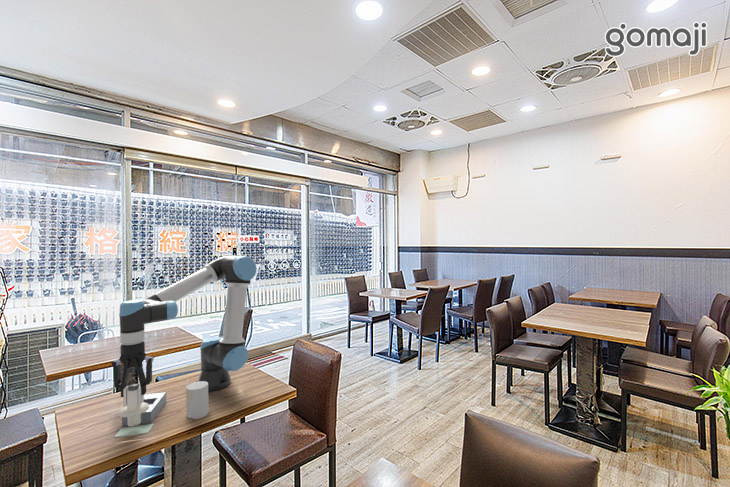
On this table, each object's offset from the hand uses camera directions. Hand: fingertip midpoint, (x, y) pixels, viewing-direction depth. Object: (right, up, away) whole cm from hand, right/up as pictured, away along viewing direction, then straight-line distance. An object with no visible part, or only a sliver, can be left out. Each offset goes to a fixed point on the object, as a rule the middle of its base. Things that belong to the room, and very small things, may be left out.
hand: (133, 403), depth 126 cm
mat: (0, -11, 0) cm, 11 cm away
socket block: (-4, -11, +13) cm, 17 cm away
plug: (0, -7, 0) cm, 7 cm away
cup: (+18, -11, +13) cm, 24 cm away
